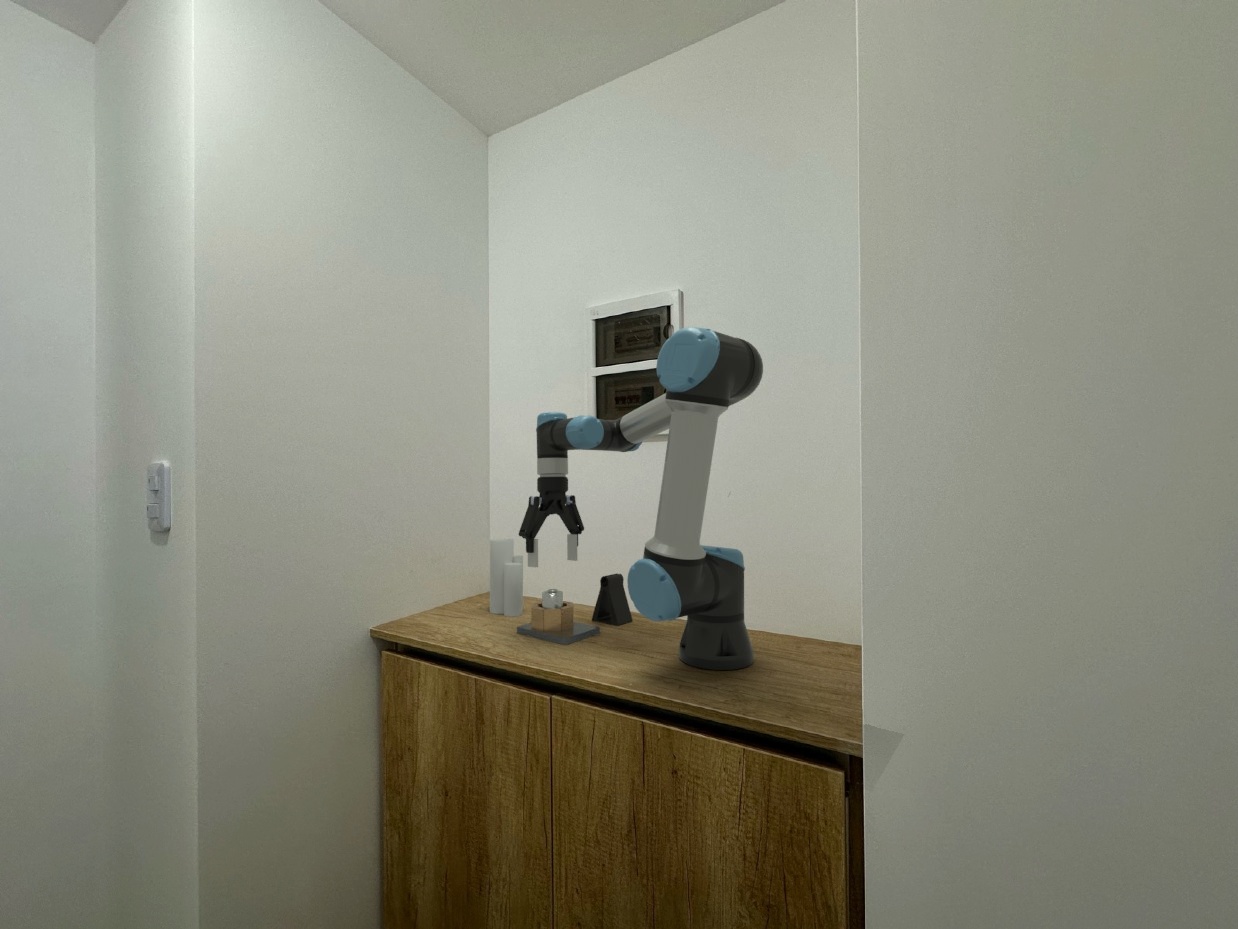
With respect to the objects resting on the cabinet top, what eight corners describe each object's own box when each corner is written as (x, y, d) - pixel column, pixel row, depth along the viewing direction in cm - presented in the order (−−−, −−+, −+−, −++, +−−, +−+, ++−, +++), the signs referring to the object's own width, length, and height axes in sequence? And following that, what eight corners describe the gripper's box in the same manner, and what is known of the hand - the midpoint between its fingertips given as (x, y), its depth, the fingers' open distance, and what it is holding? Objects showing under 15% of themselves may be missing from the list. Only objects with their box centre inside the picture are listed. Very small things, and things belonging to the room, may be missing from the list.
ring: (581, 624, 136) (581, 604, 136) (552, 633, 128) (552, 611, 128) (552, 618, 142) (552, 598, 142) (522, 626, 134) (522, 605, 134)
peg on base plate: (599, 633, 134) (599, 591, 134) (565, 645, 124) (565, 599, 124) (552, 623, 143) (552, 583, 144) (517, 633, 134) (517, 591, 134)
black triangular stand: (591, 620, 146) (591, 574, 146) (606, 616, 151) (606, 571, 151) (617, 626, 140) (617, 578, 140) (632, 621, 145) (632, 575, 145)
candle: (484, 612, 155) (484, 540, 156) (503, 607, 161) (503, 538, 162) (513, 617, 149) (514, 542, 150) (532, 612, 155) (532, 540, 156)
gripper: (575, 476, 148) (576, 556, 147) (502, 476, 128) (503, 568, 128) (597, 476, 144) (598, 558, 143) (525, 475, 124) (526, 571, 123)
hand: (553, 563), depth 135 cm, fingers open, 13 cm apart
